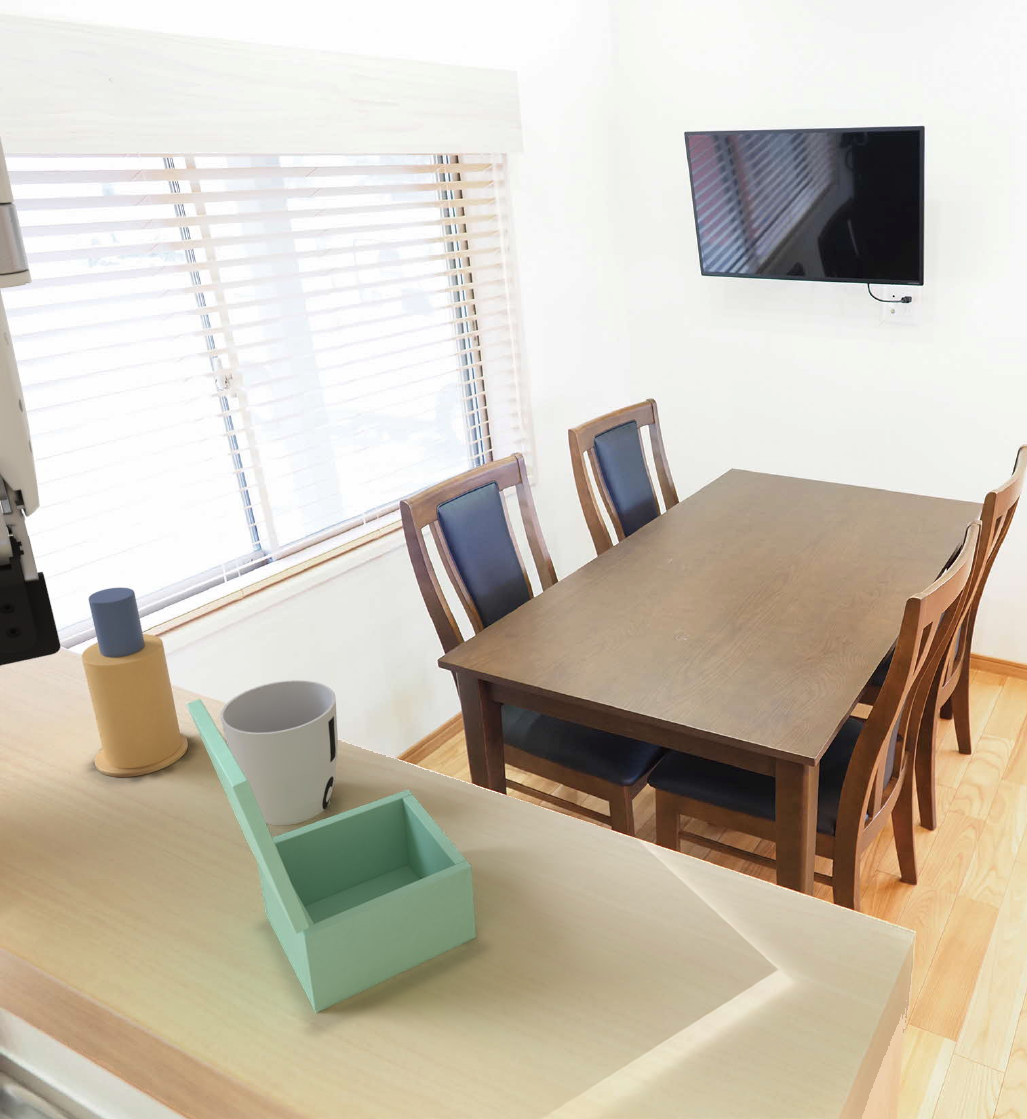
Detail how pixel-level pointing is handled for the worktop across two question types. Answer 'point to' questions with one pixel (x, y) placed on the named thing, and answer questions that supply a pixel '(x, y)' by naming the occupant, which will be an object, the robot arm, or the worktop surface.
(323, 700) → the cup
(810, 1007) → the worktop surface
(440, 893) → the mint green lidded box
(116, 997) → the worktop surface
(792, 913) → the worktop surface
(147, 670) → the tan cardboard cylinder
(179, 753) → the coaster
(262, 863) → the lid
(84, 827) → the worktop surface
